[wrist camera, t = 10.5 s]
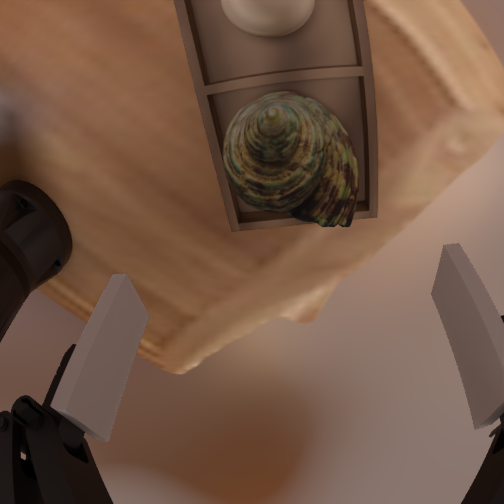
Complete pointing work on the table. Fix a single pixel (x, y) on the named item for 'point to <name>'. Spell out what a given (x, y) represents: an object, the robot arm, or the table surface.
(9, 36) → the table surface
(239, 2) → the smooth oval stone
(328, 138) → the seashell
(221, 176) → the holder
